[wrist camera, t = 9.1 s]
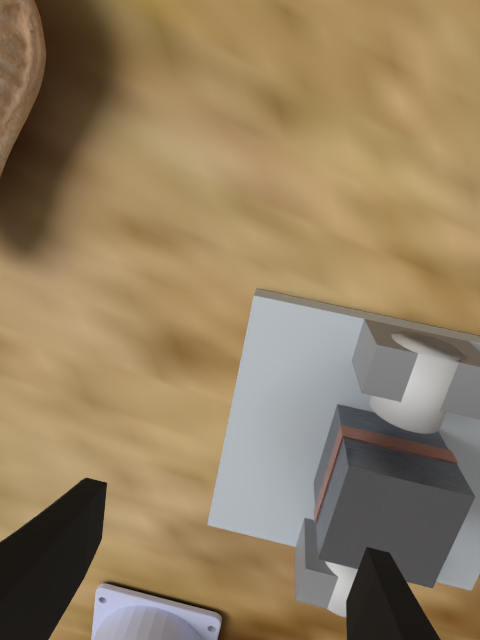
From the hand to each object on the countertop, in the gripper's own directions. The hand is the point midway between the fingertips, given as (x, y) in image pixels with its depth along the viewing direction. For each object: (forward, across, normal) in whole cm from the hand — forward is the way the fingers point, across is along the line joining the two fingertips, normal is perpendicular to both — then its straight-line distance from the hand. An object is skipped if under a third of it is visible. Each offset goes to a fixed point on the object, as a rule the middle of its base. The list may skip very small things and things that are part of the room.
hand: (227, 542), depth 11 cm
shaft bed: (+10, -6, +2) cm, 12 cm away
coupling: (+9, -6, +2) cm, 11 cm away
